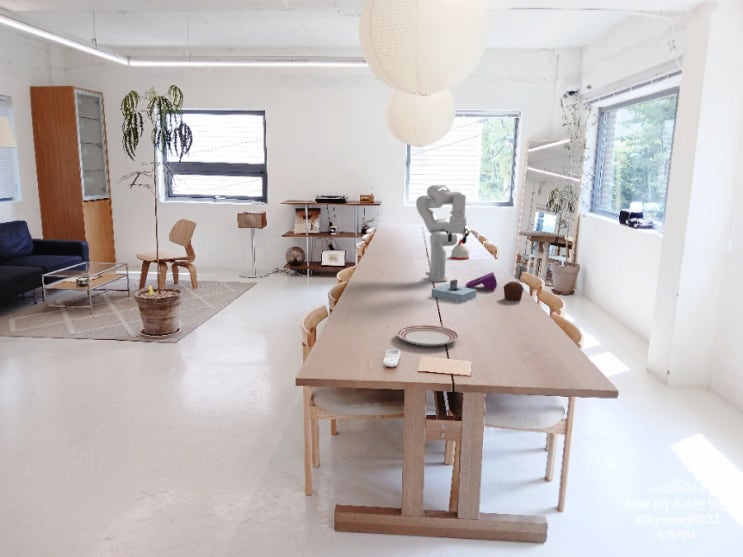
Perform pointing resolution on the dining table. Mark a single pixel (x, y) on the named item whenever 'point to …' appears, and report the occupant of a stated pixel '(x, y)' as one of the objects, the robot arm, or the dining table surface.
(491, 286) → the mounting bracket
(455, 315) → the dining table surface
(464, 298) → the well block
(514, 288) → the muffin
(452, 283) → the steel bracket
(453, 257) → the kitchen timer
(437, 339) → the dinner plate
